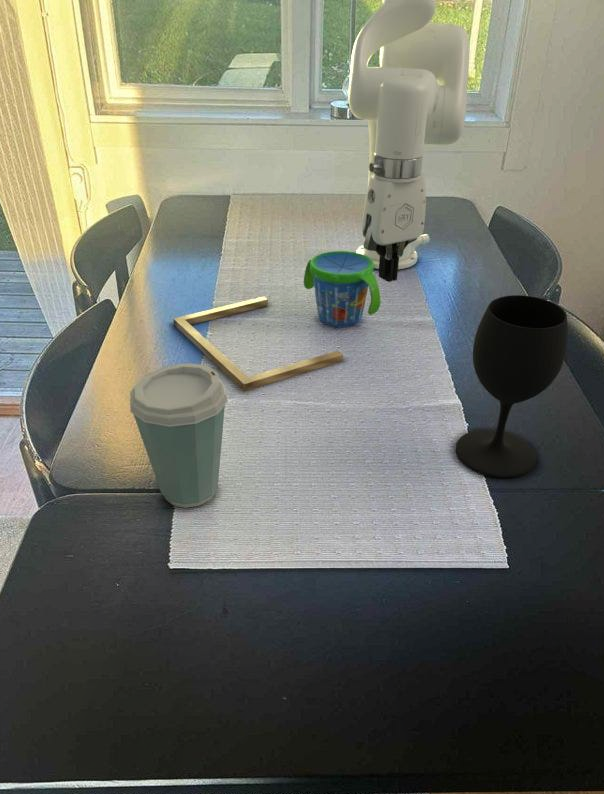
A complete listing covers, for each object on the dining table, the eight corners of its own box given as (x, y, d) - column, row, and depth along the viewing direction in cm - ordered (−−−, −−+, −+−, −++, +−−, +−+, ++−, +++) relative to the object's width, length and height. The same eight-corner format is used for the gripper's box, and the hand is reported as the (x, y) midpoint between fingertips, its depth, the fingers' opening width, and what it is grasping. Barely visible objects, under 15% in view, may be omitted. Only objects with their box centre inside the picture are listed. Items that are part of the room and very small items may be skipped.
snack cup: (287, 311, 123) (287, 254, 117) (333, 296, 129) (335, 241, 122) (346, 344, 114) (350, 285, 108) (392, 327, 119) (398, 269, 113)
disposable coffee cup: (160, 530, 79) (142, 418, 69) (132, 477, 86) (113, 369, 77) (247, 503, 82) (241, 394, 73) (214, 454, 90) (205, 349, 81)
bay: (263, 302, 126) (263, 296, 125) (342, 361, 110) (343, 354, 109) (173, 324, 118) (172, 318, 118) (244, 391, 102) (243, 384, 101)
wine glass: (539, 440, 94) (577, 300, 81) (532, 486, 86) (572, 339, 73) (461, 425, 96) (487, 286, 84) (448, 468, 89) (473, 323, 76)
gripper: (373, 178, 105) (365, 295, 116) (449, 166, 111) (434, 277, 123) (345, 167, 110) (340, 279, 121) (418, 156, 116) (407, 264, 128)
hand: (387, 278), depth 122 cm, fingers closed
